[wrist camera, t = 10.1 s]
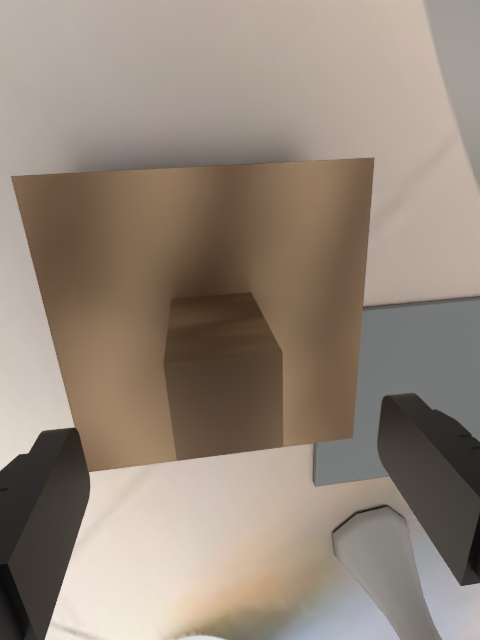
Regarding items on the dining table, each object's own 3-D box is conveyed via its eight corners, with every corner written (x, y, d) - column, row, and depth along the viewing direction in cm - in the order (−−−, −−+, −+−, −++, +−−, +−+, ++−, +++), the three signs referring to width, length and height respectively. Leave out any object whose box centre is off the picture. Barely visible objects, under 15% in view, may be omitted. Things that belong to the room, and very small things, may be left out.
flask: (318, 529, 34) (368, 665, 24) (392, 493, 33) (470, 617, 24) (348, 573, 36) (402, 710, 27) (416, 540, 36) (495, 668, 27)
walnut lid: (363, 158, 16) (479, 150, 10) (345, 426, 21) (413, 536, 15) (21, 175, 15) (-106, 179, 8) (91, 458, 20) (45, 594, 14)
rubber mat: (519, 293, 27) (526, 295, 27) (480, 457, 33) (485, 462, 32) (318, 311, 26) (320, 314, 25) (312, 481, 31) (315, 486, 31)
